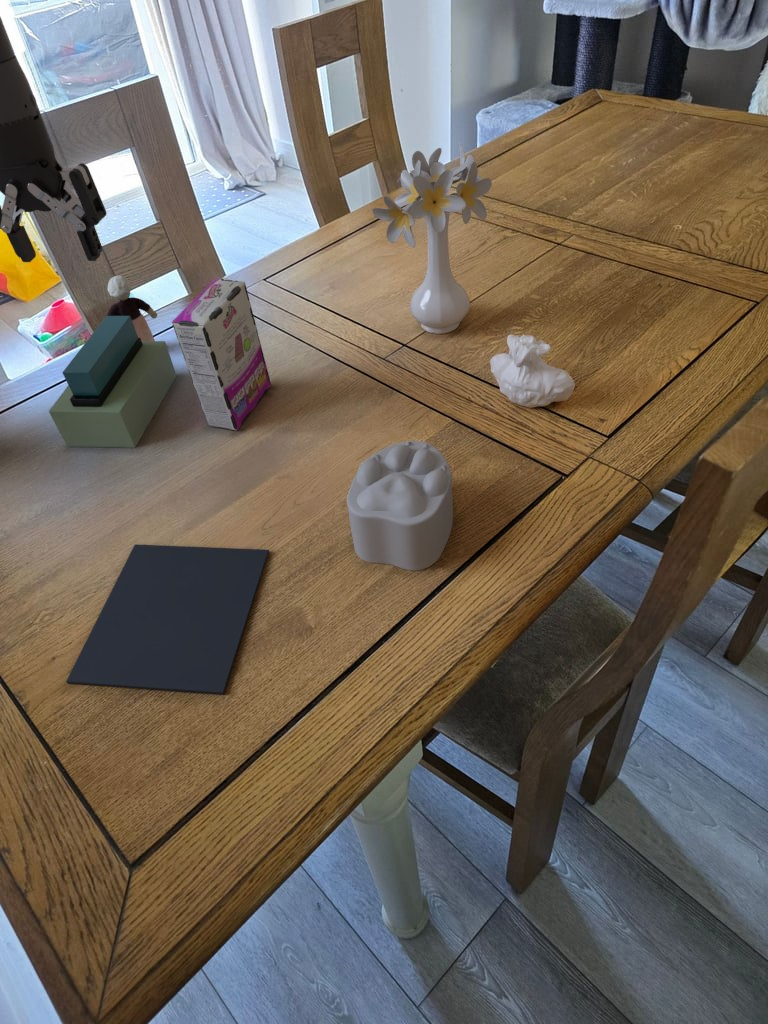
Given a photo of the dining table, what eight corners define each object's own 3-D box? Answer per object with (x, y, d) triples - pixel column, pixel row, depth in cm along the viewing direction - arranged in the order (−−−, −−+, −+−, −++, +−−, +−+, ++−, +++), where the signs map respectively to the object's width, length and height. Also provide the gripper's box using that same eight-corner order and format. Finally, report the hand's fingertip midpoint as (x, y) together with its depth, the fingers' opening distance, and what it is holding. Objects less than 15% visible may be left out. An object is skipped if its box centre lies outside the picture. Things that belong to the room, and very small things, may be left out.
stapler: (101, 407, 90) (87, 376, 87) (72, 406, 91) (57, 376, 87) (143, 344, 101) (132, 314, 97) (117, 344, 101) (105, 315, 98)
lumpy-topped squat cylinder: (344, 557, 76) (333, 500, 70) (381, 479, 85) (375, 423, 79) (435, 575, 74) (432, 518, 67) (464, 493, 82) (464, 435, 76)
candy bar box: (242, 381, 103) (213, 277, 91) (272, 385, 101) (247, 280, 90) (204, 427, 95) (169, 320, 84) (237, 432, 94) (205, 324, 82)
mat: (67, 683, 68) (65, 681, 67) (135, 546, 80) (134, 544, 80) (224, 694, 65) (222, 692, 65) (269, 551, 78) (268, 549, 78)
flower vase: (374, 347, 106) (356, 176, 89) (431, 292, 117) (426, 130, 99) (450, 366, 101) (447, 189, 83) (503, 307, 112) (510, 139, 94)
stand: (66, 446, 95) (48, 411, 91) (115, 375, 107) (101, 341, 102) (135, 447, 93) (119, 412, 89) (177, 375, 105) (165, 340, 101)
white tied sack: (487, 400, 98) (462, 371, 88) (509, 351, 98) (486, 316, 88) (566, 426, 93) (548, 398, 83) (589, 374, 93) (575, 340, 83)
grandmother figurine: (159, 338, 114) (133, 264, 105) (170, 347, 111) (144, 272, 102) (115, 357, 110) (85, 282, 101) (126, 366, 108) (95, 291, 99)
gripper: (-81, 126, 72) (-7, 274, 83) (46, 119, 70) (105, 272, 81) (-42, 104, 77) (23, 247, 88) (78, 97, 75) (129, 244, 86)
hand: (62, 259), depth 85 cm, fingers open, 8 cm apart
